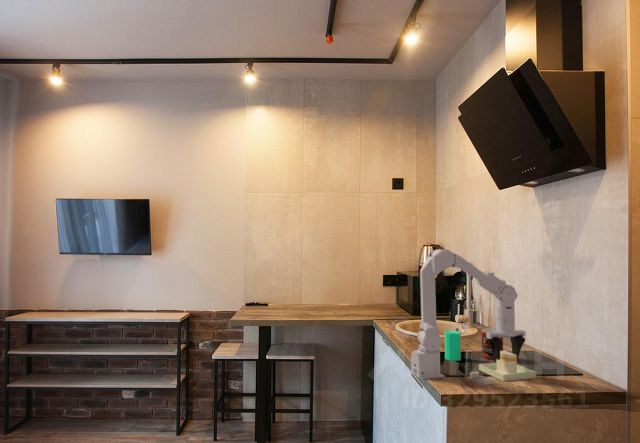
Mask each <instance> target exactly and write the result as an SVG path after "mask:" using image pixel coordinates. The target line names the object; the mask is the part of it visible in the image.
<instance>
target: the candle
mask: <svg viewBox="0 0 640 443" xmlns="http://www.w3.org/2000/svg"><path fill="white" fill-rule="evenodd" d="M461 336H462V335H461V332H459V331H456V330H455V331H454V328H452V330H445V331H444V359H445V360H447V361H452V362H457V361H461V360H462V347H461V346H462V345H461V344H462V342H461V340H462V338H461Z"/></svg>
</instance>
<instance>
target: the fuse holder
mask: <svg viewBox="0 0 640 443" xmlns="http://www.w3.org/2000/svg"><path fill="white" fill-rule="evenodd" d="M464 378H465V379H467V380H469V381H471V382H473V383H474V384H477V385H479V386H480V387H482V386H492V385H493V386H495V385H500V383H499V382H497V381H495V380H494V378H491V377H490V378H488V377H486V376H484V375H481V374H480V372H479V371H473V372H471V371H470V373H469V376H464Z"/></svg>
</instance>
